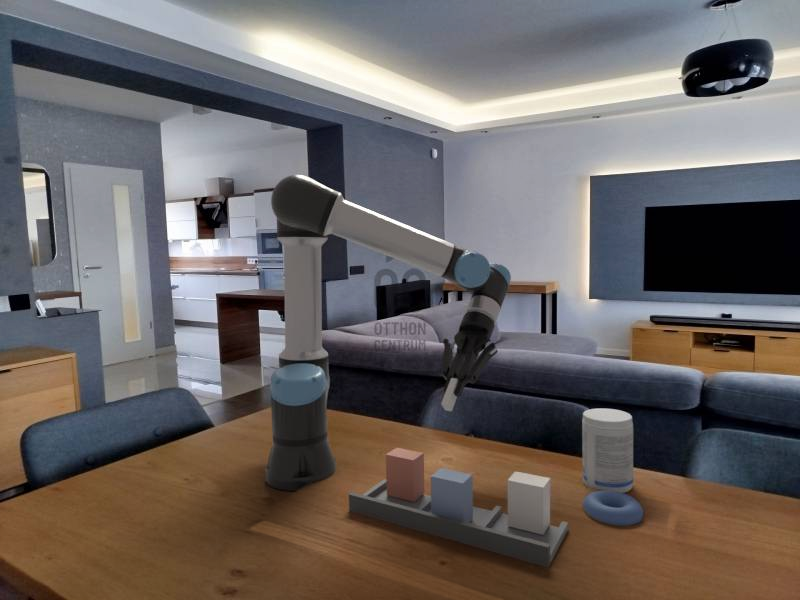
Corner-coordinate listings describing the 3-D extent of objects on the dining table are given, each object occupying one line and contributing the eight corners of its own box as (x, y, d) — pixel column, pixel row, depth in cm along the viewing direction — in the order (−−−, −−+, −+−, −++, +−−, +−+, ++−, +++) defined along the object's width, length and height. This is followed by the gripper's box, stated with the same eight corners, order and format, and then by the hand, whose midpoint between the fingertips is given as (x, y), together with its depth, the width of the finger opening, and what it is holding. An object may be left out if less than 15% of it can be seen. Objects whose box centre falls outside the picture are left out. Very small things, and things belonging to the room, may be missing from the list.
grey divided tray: (349, 518, 97) (348, 494, 97) (384, 491, 107) (384, 470, 107) (548, 576, 79) (548, 547, 78) (568, 538, 89) (568, 512, 88)
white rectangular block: (507, 525, 90) (507, 480, 89) (515, 515, 93) (515, 471, 93) (543, 535, 87) (543, 487, 86) (550, 524, 90) (550, 478, 90)
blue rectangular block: (431, 521, 92) (430, 476, 91) (441, 511, 95) (441, 467, 95) (463, 529, 89) (463, 483, 88) (472, 519, 92) (472, 474, 92)
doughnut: (630, 540, 88) (631, 512, 88) (572, 523, 94) (572, 497, 94) (651, 522, 95) (651, 496, 95) (596, 508, 102) (596, 484, 102)
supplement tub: (642, 487, 107) (644, 416, 106) (613, 500, 102) (614, 425, 100) (600, 471, 115) (601, 404, 114) (571, 482, 110) (572, 412, 108)
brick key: (386, 495, 102) (385, 454, 101) (397, 486, 106) (396, 447, 105) (414, 502, 99) (413, 460, 98) (424, 493, 103) (423, 453, 102)
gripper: (510, 331, 124) (480, 421, 111) (459, 327, 131) (425, 412, 118) (502, 311, 119) (469, 403, 106) (449, 308, 126) (413, 393, 113)
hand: (446, 407), depth 112 cm, fingers closed
